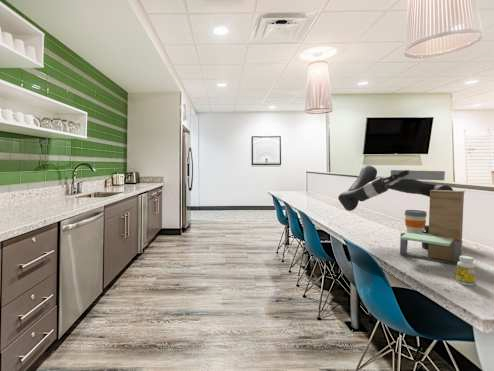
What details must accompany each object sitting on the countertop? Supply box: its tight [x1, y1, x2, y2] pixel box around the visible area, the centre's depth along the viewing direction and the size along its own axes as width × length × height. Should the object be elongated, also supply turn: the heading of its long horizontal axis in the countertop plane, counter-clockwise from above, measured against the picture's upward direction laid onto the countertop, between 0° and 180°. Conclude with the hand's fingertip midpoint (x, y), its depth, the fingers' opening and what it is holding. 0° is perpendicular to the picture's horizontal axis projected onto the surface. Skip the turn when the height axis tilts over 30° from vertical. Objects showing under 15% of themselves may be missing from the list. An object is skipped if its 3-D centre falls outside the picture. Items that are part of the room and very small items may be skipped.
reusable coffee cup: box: [404, 209, 428, 234], centre depth 186 cm, size 13×13×15 cm
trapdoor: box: [400, 232, 453, 246], centre depth 127 cm, size 14×18×1 cm
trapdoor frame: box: [399, 232, 463, 266], centre depth 132 cm, size 3×24×10 cm, turn 47°
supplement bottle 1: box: [421, 224, 429, 250], centre depth 151 cm, size 7×7×12 cm
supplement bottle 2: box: [456, 255, 476, 286], centre depth 104 cm, size 5×5×10 cm
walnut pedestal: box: [427, 190, 465, 261], centre depth 133 cm, size 8×12×32 cm
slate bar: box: [390, 169, 446, 181], centre depth 130 cm, size 4×21×4 cm, turn 46°
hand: (409, 171), depth 132 cm, fingers closed on slate bar, 4 cm apart
